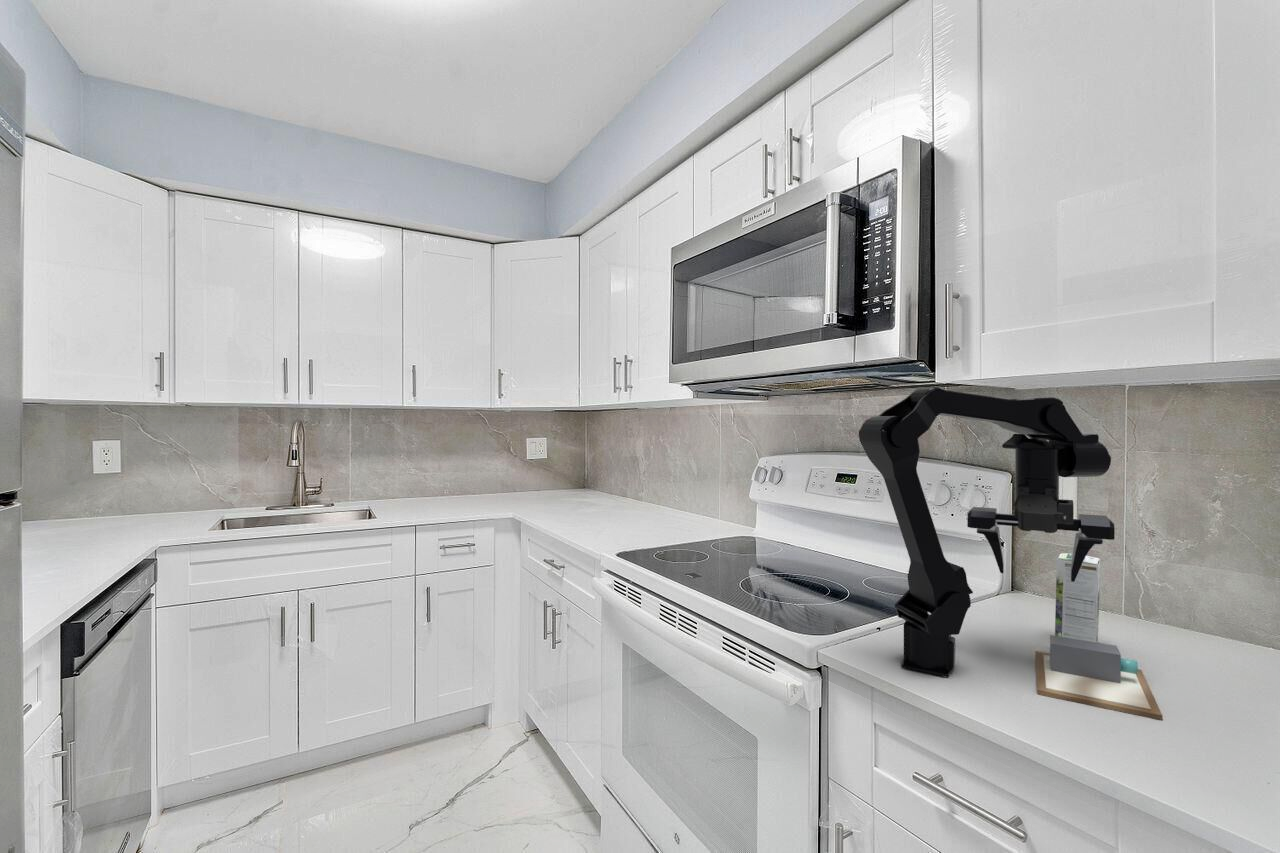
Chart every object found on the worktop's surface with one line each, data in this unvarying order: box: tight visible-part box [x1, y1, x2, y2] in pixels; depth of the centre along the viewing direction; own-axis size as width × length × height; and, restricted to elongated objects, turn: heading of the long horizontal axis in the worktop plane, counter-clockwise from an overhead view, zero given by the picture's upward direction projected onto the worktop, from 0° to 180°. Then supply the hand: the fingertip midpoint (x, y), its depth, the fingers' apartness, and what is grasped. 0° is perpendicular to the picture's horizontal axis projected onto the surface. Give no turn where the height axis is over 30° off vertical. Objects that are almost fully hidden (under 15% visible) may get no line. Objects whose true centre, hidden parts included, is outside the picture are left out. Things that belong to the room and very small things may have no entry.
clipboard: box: [1035, 650, 1164, 721], centre depth 84 cm, size 13×16×2 cm
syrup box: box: [1054, 552, 1101, 643], centre depth 99 cm, size 6×6×14 cm
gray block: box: [1049, 634, 1139, 684], centre depth 85 cm, size 10×4×4 cm, turn 57°
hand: (1036, 576), depth 92 cm, fingers open, 9 cm apart
